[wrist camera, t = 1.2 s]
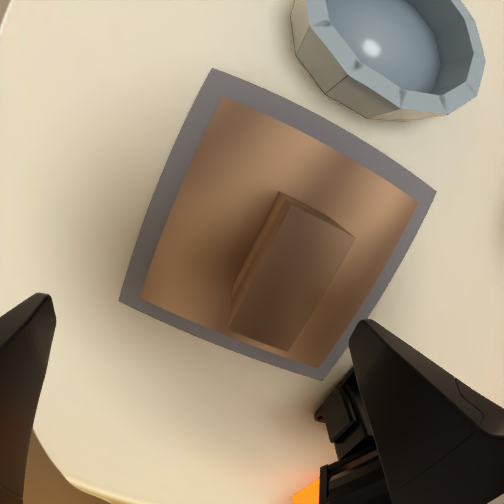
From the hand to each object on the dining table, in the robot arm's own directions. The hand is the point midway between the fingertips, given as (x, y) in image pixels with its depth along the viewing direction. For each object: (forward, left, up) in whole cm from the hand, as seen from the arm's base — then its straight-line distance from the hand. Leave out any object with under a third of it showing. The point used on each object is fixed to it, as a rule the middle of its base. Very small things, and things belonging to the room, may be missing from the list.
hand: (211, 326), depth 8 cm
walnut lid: (-3, 0, -10) cm, 11 cm away
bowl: (-3, -15, -11) cm, 19 cm away
